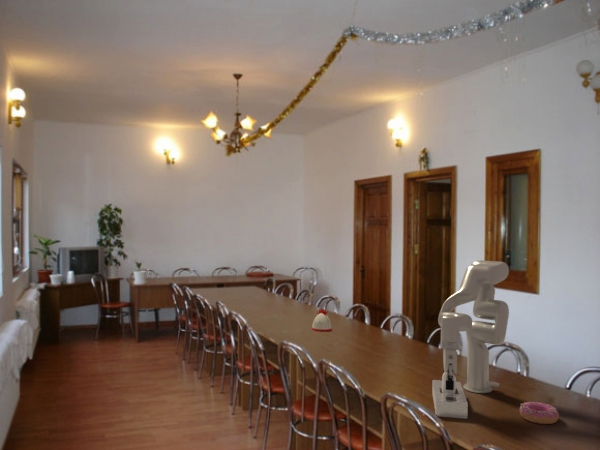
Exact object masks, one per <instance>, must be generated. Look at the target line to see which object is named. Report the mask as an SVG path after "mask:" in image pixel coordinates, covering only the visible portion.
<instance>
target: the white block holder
mask: <svg viewBox="0 0 600 450" xmlns="http://www.w3.org/2000/svg"><path fill="white" fill-rule="evenodd" d="M431 382H432V383H431V384H432V385H431V387H432V389H431V390H432V391H431V392H432V401H433V404H434V405H433V407H434V412H435V416H436V415H437V416H436V417H440V418H441V417H443V418H455V419H465V420H467V419H468V414H469V413H468V410H469V409H468V407H469V405H468V404H469V403H468V400H467V398H466V394H465V392H464V388H463V387H462V383H461V381H456V391H455V394H448V393H442V379H441V380H439V379H432V381H431Z"/></svg>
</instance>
